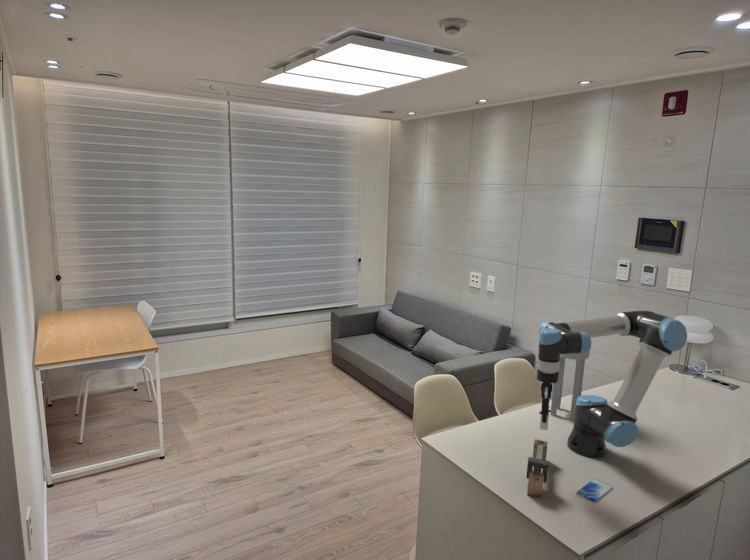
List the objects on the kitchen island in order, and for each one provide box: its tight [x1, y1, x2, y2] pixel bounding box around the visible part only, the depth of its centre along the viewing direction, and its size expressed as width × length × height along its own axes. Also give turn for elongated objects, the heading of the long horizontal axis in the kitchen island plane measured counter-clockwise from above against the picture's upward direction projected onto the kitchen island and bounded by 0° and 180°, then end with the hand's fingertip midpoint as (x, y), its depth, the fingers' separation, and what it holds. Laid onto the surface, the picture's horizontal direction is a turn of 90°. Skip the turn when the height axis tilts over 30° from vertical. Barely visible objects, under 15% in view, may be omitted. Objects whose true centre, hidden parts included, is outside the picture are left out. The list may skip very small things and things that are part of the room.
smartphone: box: [575, 478, 613, 504], centre depth 175 cm, size 7×1×15 cm
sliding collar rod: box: [526, 439, 549, 499], centre depth 182 cm, size 5×28×8 cm, turn 158°
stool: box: [549, 349, 591, 422], centre depth 233 cm, size 16×16×35 cm
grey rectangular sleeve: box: [526, 456, 549, 484], centre depth 174 cm, size 7×3×7 cm, turn 68°
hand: (543, 428), depth 181 cm, fingers closed
